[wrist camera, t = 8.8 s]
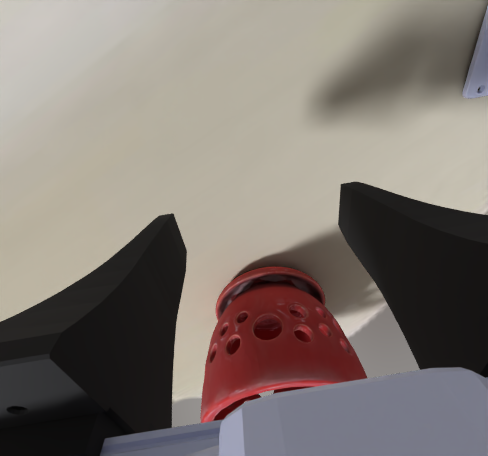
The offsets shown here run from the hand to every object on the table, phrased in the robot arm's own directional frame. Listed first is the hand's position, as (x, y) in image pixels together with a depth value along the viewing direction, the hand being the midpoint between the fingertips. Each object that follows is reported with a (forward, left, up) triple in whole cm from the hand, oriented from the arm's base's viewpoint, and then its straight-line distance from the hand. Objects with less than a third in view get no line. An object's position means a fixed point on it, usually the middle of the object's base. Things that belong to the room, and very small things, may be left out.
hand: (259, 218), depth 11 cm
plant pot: (0, +17, -10) cm, 20 cm away
